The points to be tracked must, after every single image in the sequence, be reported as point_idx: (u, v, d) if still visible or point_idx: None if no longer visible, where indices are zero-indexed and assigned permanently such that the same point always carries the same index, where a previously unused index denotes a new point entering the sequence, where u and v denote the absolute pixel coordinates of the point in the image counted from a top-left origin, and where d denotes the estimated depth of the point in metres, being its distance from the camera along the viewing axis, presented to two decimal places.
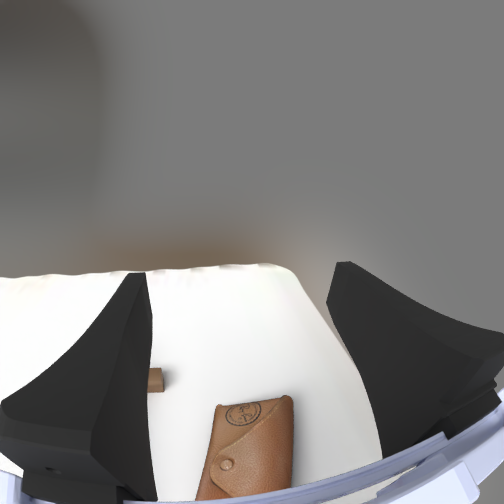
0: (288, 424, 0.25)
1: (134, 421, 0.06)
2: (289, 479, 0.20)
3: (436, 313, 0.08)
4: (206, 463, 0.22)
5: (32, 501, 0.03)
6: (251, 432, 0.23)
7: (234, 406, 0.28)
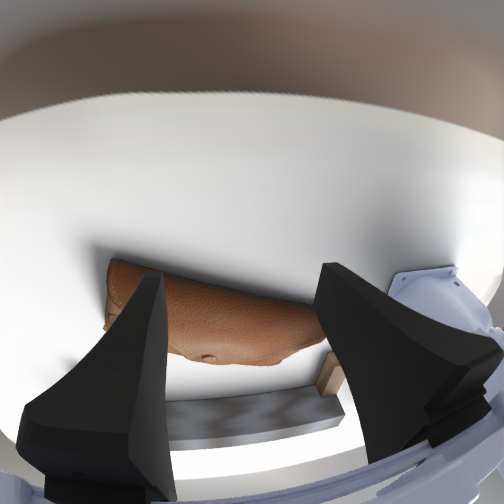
0: None
1: (157, 421, 0.06)
2: (243, 307, 0.21)
3: (423, 316, 0.08)
4: None
5: (32, 501, 0.03)
6: (173, 344, 0.20)
7: None
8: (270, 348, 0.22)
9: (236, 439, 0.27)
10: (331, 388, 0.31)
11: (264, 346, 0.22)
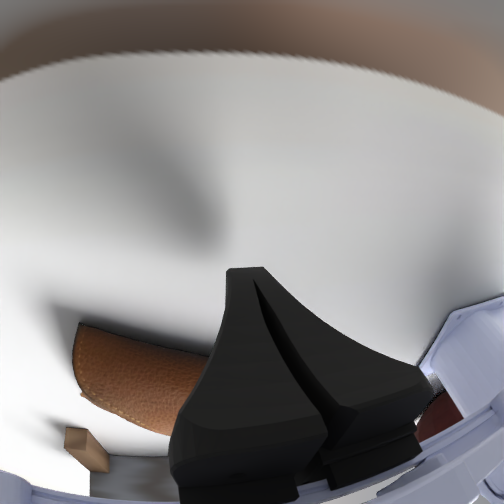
0: (152, 387, 0.12)
1: None
2: None
3: (340, 333, 0.07)
4: None
5: (32, 501, 0.03)
6: (170, 434, 0.13)
7: (91, 399, 0.15)
8: None
9: None
10: None
11: None
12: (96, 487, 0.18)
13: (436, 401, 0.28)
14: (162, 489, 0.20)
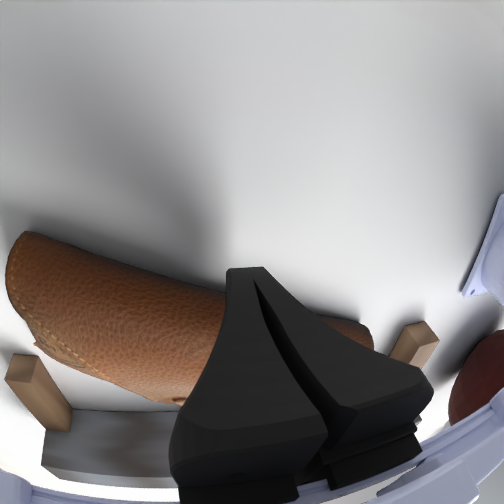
0: (94, 304, 0.09)
1: None
2: None
3: (340, 333, 0.07)
4: None
5: (32, 501, 0.03)
6: (121, 383, 0.11)
7: (39, 342, 0.12)
8: None
9: None
10: None
11: None
12: (51, 450, 0.13)
13: (478, 347, 0.23)
14: (137, 456, 0.15)
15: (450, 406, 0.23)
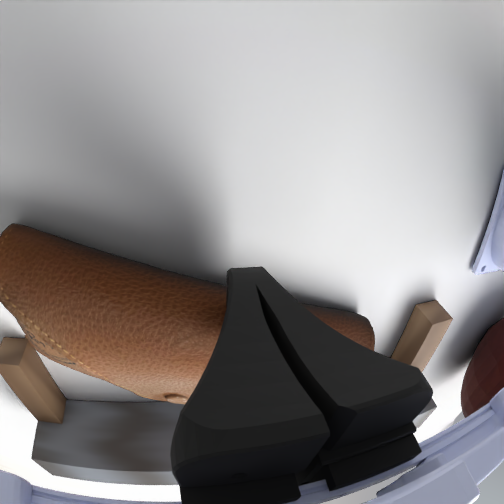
0: (76, 293, 0.09)
1: None
2: None
3: (339, 333, 0.07)
4: None
5: (32, 501, 0.03)
6: (108, 378, 0.10)
7: (29, 339, 0.11)
8: None
9: None
10: None
11: None
12: (42, 443, 0.12)
13: (489, 332, 0.22)
14: (133, 449, 0.14)
15: (463, 395, 0.22)
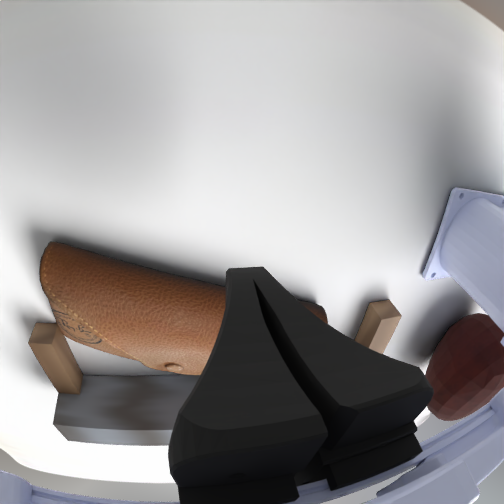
0: (103, 290, 0.14)
1: None
2: (211, 303, 0.16)
3: (340, 333, 0.07)
4: None
5: (32, 501, 0.03)
6: (124, 350, 0.15)
7: (61, 326, 0.16)
8: None
9: None
10: None
11: None
12: (62, 411, 0.17)
13: (449, 330, 0.27)
14: (138, 412, 0.19)
15: None
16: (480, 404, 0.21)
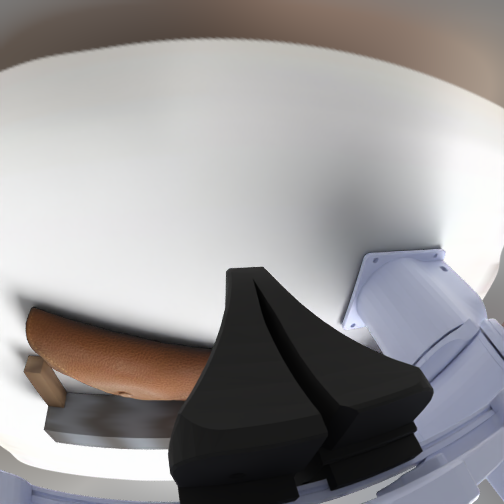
0: (68, 346, 0.18)
1: None
2: (143, 355, 0.21)
3: (340, 333, 0.07)
4: None
5: (32, 501, 0.03)
6: (87, 383, 0.20)
7: (46, 361, 0.21)
8: (176, 392, 0.22)
9: None
10: None
11: (169, 390, 0.21)
12: (51, 420, 0.22)
13: None
14: (106, 423, 0.23)
15: None
16: None
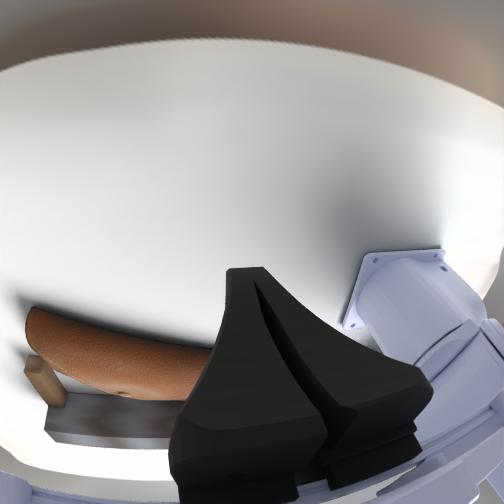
0: (68, 345, 0.18)
1: None
2: (143, 355, 0.21)
3: (340, 333, 0.07)
4: None
5: (32, 501, 0.03)
6: (86, 383, 0.20)
7: (45, 361, 0.21)
8: (175, 392, 0.22)
9: None
10: None
11: (168, 390, 0.22)
12: (51, 420, 0.22)
13: None
14: (106, 423, 0.23)
15: None
16: None
